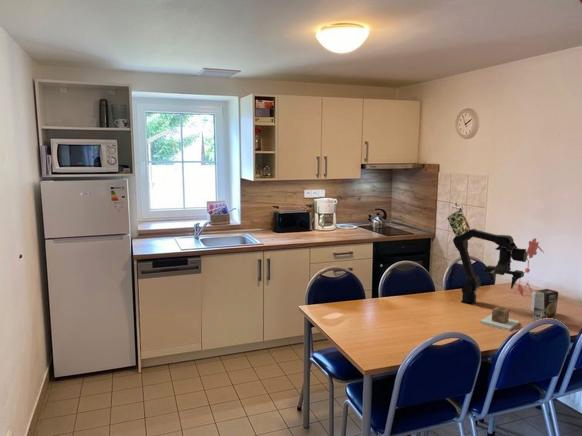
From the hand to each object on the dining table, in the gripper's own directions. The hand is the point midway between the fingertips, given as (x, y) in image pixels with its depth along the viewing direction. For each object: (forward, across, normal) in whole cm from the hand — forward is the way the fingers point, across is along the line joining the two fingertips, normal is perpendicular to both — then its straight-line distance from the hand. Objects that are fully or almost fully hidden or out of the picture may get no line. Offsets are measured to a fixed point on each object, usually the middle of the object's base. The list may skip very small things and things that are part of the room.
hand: (502, 286), depth 244 cm
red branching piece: (+13, +2, +41) cm, 43 cm away
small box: (+13, +16, +10) cm, 23 cm away
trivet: (+13, +7, -21) cm, 26 cm away
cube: (+12, +7, -21) cm, 25 cm away
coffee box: (+13, +22, -2) cm, 26 cm away
